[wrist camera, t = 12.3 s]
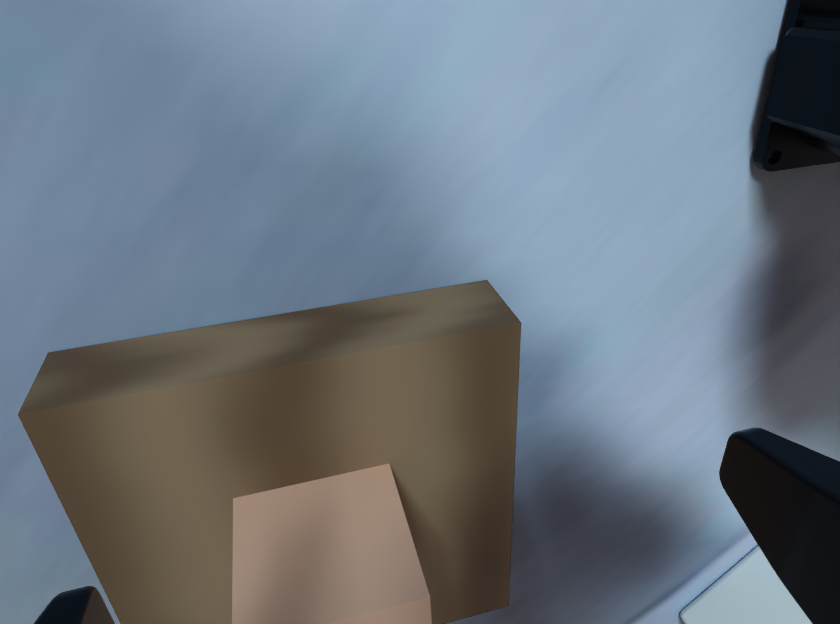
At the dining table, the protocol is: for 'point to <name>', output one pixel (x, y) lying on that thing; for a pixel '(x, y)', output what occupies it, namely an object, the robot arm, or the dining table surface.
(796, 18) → the robot arm
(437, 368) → the walnut base
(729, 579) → the medicine bottle
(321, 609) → the terracotta cube
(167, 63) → the dining table surface
